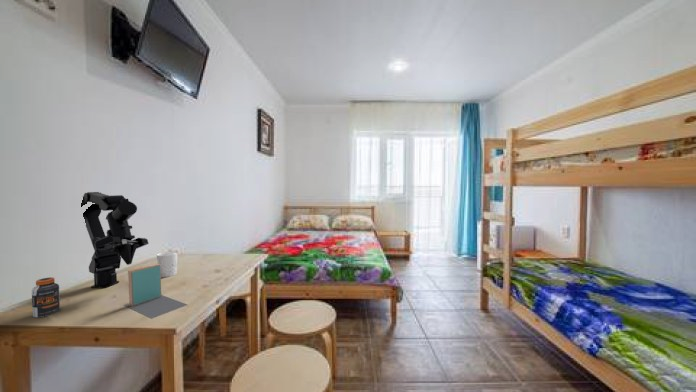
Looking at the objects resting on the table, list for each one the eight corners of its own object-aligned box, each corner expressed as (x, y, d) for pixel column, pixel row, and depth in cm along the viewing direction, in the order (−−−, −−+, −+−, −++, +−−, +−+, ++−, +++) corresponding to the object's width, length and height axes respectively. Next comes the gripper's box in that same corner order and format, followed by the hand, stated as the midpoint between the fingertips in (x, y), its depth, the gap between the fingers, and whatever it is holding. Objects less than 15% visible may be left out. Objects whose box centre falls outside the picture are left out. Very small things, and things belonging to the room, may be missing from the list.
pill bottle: (35, 319, 84) (33, 283, 84) (30, 315, 88) (28, 280, 87) (62, 312, 89) (60, 277, 89) (57, 307, 93) (55, 274, 92)
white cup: (182, 273, 128) (181, 252, 128) (166, 278, 121) (165, 256, 120) (169, 271, 131) (169, 250, 130) (153, 277, 123) (152, 254, 123)
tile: (129, 305, 93) (128, 270, 93) (158, 295, 101) (157, 263, 100) (132, 306, 92) (131, 271, 92) (161, 297, 100) (160, 264, 99)
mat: (123, 306, 93) (123, 305, 93) (158, 294, 103) (158, 293, 103) (151, 319, 84) (151, 318, 84) (187, 305, 93) (187, 304, 93)
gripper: (117, 235, 113) (127, 271, 111) (74, 232, 95) (84, 275, 92) (144, 225, 115) (154, 260, 112) (106, 219, 96) (117, 261, 93)
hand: (129, 264), depth 102 cm, fingers closed
